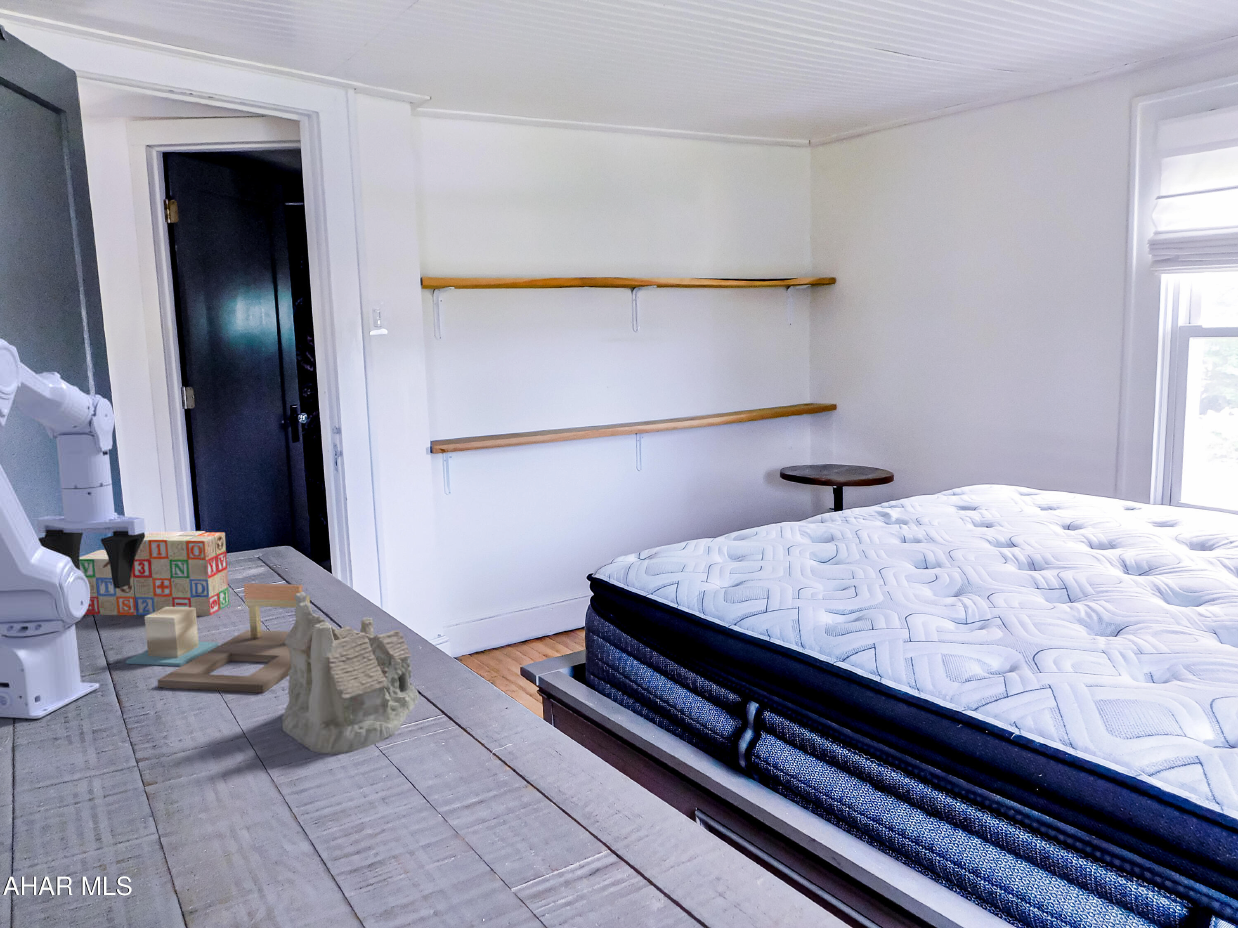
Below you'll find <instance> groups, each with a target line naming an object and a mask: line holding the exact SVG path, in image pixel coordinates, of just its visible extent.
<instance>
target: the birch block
mask: <svg viewBox="0 0 1238 928" xmlns="http://www.w3.org/2000/svg"><path fill="white" fill-rule="evenodd" d="M197 621H198V620H197V616H196V608H187V607H165V608H163V609H161V610H158V611H156V612H154V613H152V614H149V615H144V624H145V625H144V626H145V634H146V635H145V637H146V648H147V650H148V656H155V657H177V658H178V657H180V656H182V655H184V654H185V653H187V652H189V651H191V650H193V649H195V648H197V647H198V646H199V643H198V642H199V634H198V633H199V632H198V623H197Z"/></svg>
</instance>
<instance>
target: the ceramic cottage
mask: <svg viewBox="0 0 1238 928" xmlns="http://www.w3.org/2000/svg"><path fill="white" fill-rule="evenodd" d="M306 595H307V594H306V593H305V592H304V591H303V592H300V593H297V594H296V595H294V597H295V600H296V603H297V605H296V608H294V609H295V610H294V618H295V622H294V624H293V626H292V628H291V629H290V630H289V631H290V632H289V633H288V634H287V637H286V641H285V644H286V646H287V647H288V648H289V649H290V652H289V653H290V660H291V665H292V667H291V670H290V671H289V673H288V676H289V677H288V678H289V680H288V682H287V683H288V691H287V693H288V701H287V702H288V703H287V704H286V707H285V710H284V712H283V715H282V725H281V726H282V727H281V728H282V730H283V732H284V733H286V734H287V735H289V736H290V737H292V738H293V739H295V740H296V741H297V742H298V743H299V744H302V745H303V746H304V747H306V748H307V749H309V750H311V751H312V752H314V753H318V754H324V755H327V754H328V755H335V754H346V753H352V752H353V753H354V752H356V751H359V750H362V749H365V748H369V747H371V746H374V745H375V744H378V743H380V742H383V741H385V739H388V738H389V737H392V736H394V735H395V734H396V733H397V732H398V730H400V728H401V726H402V725H403V723H404V722H405V721H406V719H407V718H408V717H409V714H410V712H412V710H413V709H414V708H415V707H416V706H417V705H416V704H418V702H419V701H420V696H419V692H418V690H417V688H415V686H414V685H413V684H411V681H410V679H411V678H412V668H411V667H412V664H411V660H410V658H411V657H412V654H411V651H410V649H409V647H408V644H407V643H406V640H405V638H404V635H403V634H402V633H401V632H400V631H399V629H398V630H392V631H390V632H386V633H383V634H378V635H376V634H375V632H374V621H373V619H372V617H364V618H362V619H361V621H360V622H361V623H360V625H361V626H360V631H357V630H355V629H353V628H352V626H351V627H350V626H346V625H343V626H342V627H341V628H340V629H338V628H337V627H335V626H334V625H331V624H330V623H329V622H328V621H327V620H326V619H325V618H323V617H321V616H320V615H316V614H314V613H313V612H312V607H311V603H307V597H306Z"/></svg>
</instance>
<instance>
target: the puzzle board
mask: <svg viewBox="0 0 1238 928" xmlns="http://www.w3.org/2000/svg"><path fill="white" fill-rule="evenodd" d="M289 632H290V630H289V631H287V630H286V631H285V630H266V629H265V630H263V629H261V633H262V635H261V636H259V637H251V631H250V629H246V630H244V631H242V632H241V633H239V634H237V635H235V636H234V637H232V638H230V639H228V640H227V641H225V642H223V643H222V644H218V646H216V647H215V648H213V649H211V650H209V651H207V652H205V653H204V654H202V655H200V656H198V657H196V658H195V659H193V660H191V661H189V662H187V663H186V664H184V665H182V666H179V667H178V668H176V669H174V670H172V671H171V672H169V673H167V674H165V675H164V676H162V677H160V678H158V679H157V687H158V688H159V687H167V688H166V689H178V690H179V689H180V688H181V689H182V690H197V689H200V690H201V689H202V691H220V692H221V691H222V692H236V693H237V692H238V693H240V692H241V693H255V694H256V693H259V694H264V693H265V692H267V691H268V690H269V689H271V688H273V687H274V686H275V685H277V684H278V683H280V682H281V681H282V680H284V679H285V678H287V677H288V676H289V675H288V673H289V671H290V670H291V667H292V665H291V660H290V653H289V652H290V649H289V648H288V647H287V646H286V644H285V641H286V637H287V634H288V633H289ZM232 661H233V662H249V663H250V662H251V663H252V662H253V663H266V664H265V665H263V666H261V667H260V668H259V669H257V670H256V671H254V672H252V673H251V674H249V675H232V674H231V675H229V674H213V672H214V671H216V670H218V669H219V668H221V667H222V666H225V664H227V663H230V662H232ZM181 689H180V690H181Z"/></svg>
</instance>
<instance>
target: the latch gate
mask: <svg viewBox="0 0 1238 928" xmlns="http://www.w3.org/2000/svg"><path fill="white" fill-rule="evenodd" d="M243 592H244V594H243V595H244V604H245V605H244V606H245V607H248V615H249V616H248V617H249V626H250V627H249V630H250V631H251V637H259V636H261V635H262V633H261V630H262V626H261V625H262V624H261V623H262V622H261V610H260V609H261V608H260V607H264V608H265V607H266V608H289V609H290V608H292V609H293V608H294V609H296V605H297V603H296V600H295V597H294V595H296V594H297V593H300V592H304V591H303V584H285V583H284V584H283V583H252V582H250V583H249V582H246V583H244V584H243ZM306 597H307V603H309V604H311V600H310V599H311V598H310V597H311V596H310V595H307V594H306Z"/></svg>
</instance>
